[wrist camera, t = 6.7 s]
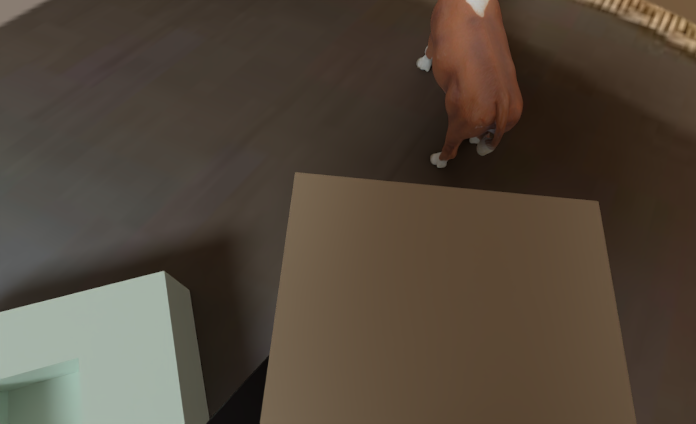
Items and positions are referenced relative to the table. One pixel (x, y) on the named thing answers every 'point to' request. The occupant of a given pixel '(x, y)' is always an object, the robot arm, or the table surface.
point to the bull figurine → (472, 74)
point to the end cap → (104, 357)
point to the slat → (443, 309)
